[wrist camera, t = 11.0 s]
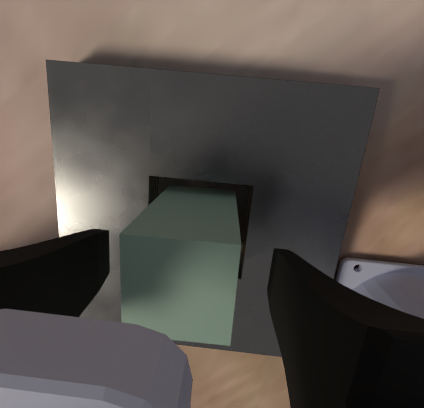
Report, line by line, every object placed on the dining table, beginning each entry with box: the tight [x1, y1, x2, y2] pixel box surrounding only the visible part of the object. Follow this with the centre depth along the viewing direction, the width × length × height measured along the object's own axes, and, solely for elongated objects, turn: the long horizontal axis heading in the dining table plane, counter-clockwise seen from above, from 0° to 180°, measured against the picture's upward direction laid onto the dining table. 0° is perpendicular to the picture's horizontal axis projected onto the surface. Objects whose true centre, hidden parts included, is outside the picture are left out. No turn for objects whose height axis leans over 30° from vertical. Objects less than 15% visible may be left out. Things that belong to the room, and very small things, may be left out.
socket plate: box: [46, 60, 380, 357], centre depth 16 cm, size 16×16×2 cm
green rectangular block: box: [119, 185, 241, 346], centre depth 13 cm, size 4×4×8 cm
